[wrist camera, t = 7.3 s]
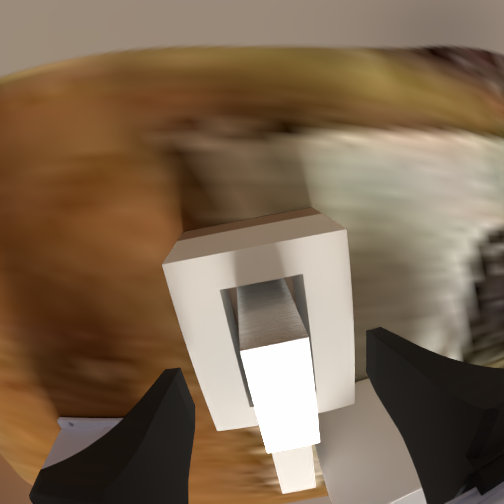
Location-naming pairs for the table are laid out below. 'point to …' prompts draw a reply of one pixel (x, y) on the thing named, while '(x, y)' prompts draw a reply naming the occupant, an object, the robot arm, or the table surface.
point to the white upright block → (277, 365)
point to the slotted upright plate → (226, 313)
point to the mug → (366, 454)
